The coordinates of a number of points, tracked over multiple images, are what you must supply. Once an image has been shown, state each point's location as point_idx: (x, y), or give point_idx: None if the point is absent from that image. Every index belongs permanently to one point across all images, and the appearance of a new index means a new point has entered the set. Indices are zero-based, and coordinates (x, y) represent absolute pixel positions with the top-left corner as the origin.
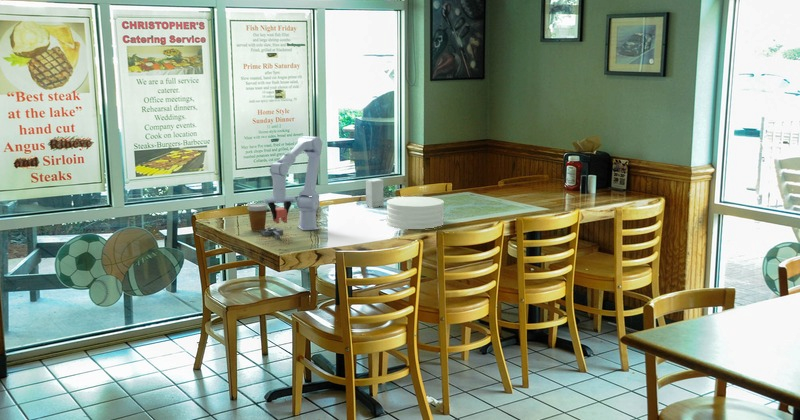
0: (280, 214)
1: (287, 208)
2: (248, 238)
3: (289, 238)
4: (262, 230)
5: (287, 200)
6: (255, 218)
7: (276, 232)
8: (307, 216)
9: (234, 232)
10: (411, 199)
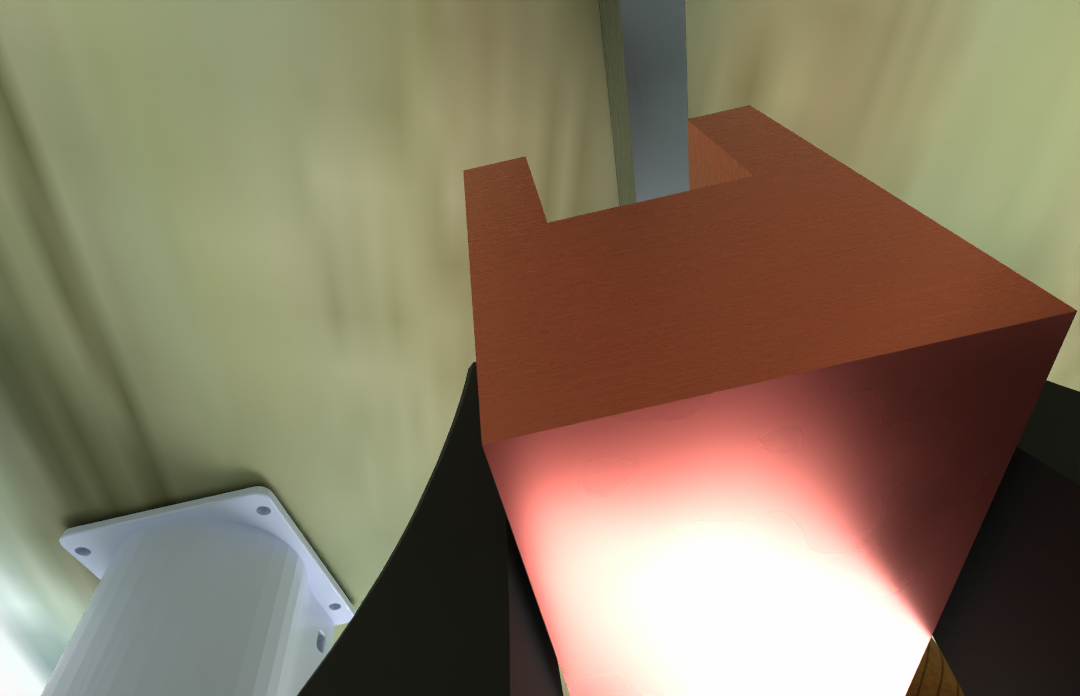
0: (750, 244)
1: (442, 607)
2: (1032, 136)
3: (414, 16)
4: None
5: None
6: None
7: (652, 184)
8: (135, 686)
9: None
10: None
